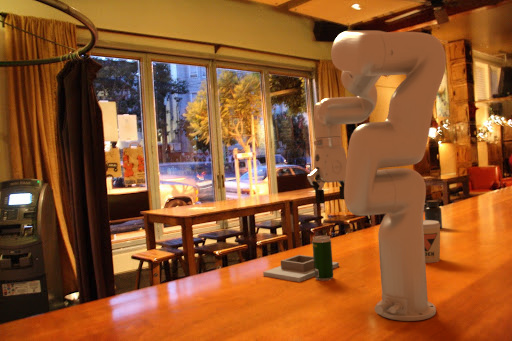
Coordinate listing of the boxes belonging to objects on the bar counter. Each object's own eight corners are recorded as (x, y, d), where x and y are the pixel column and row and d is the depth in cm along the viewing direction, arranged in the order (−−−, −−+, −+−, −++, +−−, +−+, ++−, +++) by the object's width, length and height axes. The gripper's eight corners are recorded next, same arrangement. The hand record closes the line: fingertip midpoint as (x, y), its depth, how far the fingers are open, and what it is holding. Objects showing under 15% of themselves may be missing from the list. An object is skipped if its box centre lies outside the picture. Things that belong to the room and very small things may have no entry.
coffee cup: (408, 262, 141) (406, 224, 141) (413, 256, 150) (411, 219, 149) (440, 264, 137) (438, 224, 137) (443, 257, 145) (441, 219, 145)
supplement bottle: (422, 228, 198) (420, 201, 197) (433, 226, 200) (431, 199, 200) (434, 230, 191) (432, 202, 191) (446, 228, 194) (444, 200, 194)
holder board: (299, 282, 129) (298, 269, 129) (263, 275, 139) (262, 263, 138) (338, 266, 143) (337, 254, 143) (303, 261, 153) (303, 250, 153)
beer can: (323, 282, 127) (320, 239, 127) (311, 278, 131) (308, 237, 131) (337, 278, 130) (334, 236, 130) (324, 274, 134) (322, 234, 134)
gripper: (314, 144, 126) (319, 205, 126) (358, 141, 135) (362, 198, 136) (298, 145, 132) (302, 204, 133) (341, 143, 142) (344, 197, 142)
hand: (332, 201), depth 134 cm, fingers open, 9 cm apart
